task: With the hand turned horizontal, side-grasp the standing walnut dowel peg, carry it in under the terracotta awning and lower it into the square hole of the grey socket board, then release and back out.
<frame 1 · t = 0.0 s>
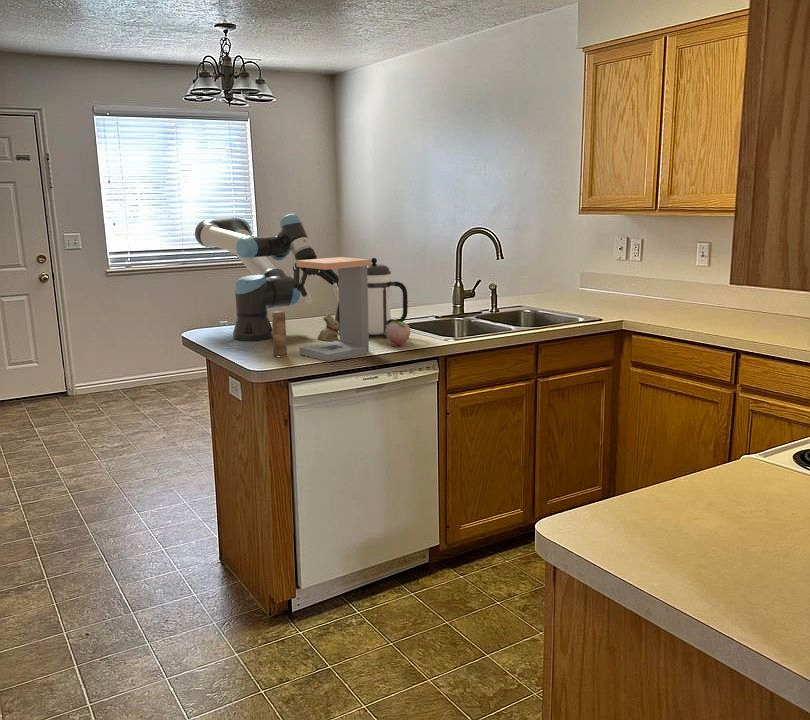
hand: (325, 301, 271), 15 cm above the worktop, tool tilted 35°, fingers open, 13 cm apart
pump dispenser: (347, 333, 295), on the worktop
chocolate bunny: (328, 339, 281), on the worktop
socket: (332, 354, 254), on the worktop
coffee press: (378, 336, 288), on the worktop
decorative fruit: (398, 346, 268), on the worktop
peg: (280, 355, 253), on the worktop
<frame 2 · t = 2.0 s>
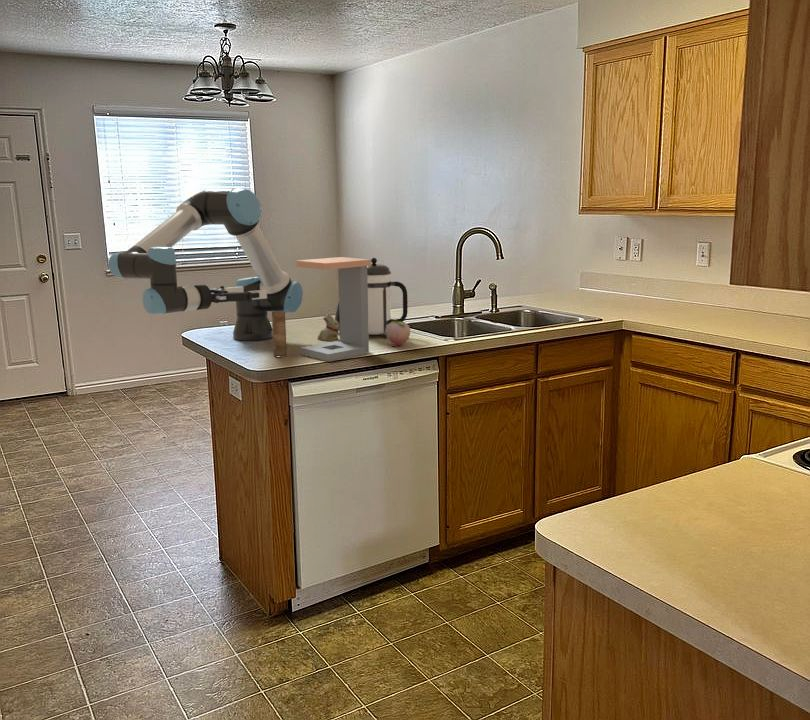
hand: (254, 292, 242), 23 cm above the worktop, tool horizontal, fingers open, 13 cm apart
nothing on the worktop moved.
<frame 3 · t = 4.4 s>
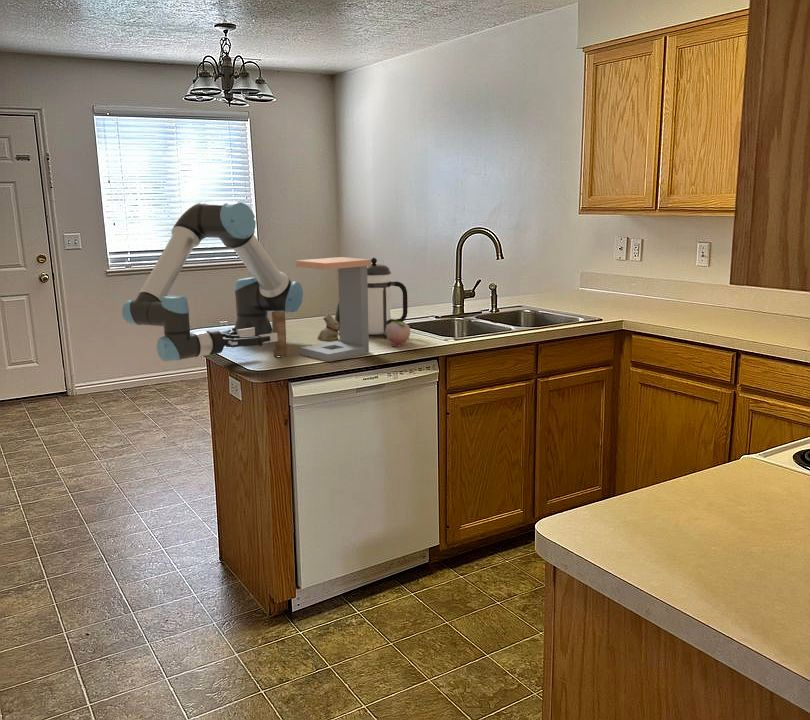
hand: (265, 334, 247), 8 cm above the worktop, tool horizontal, fingers open, 13 cm apart
nothing on the worktop moved.
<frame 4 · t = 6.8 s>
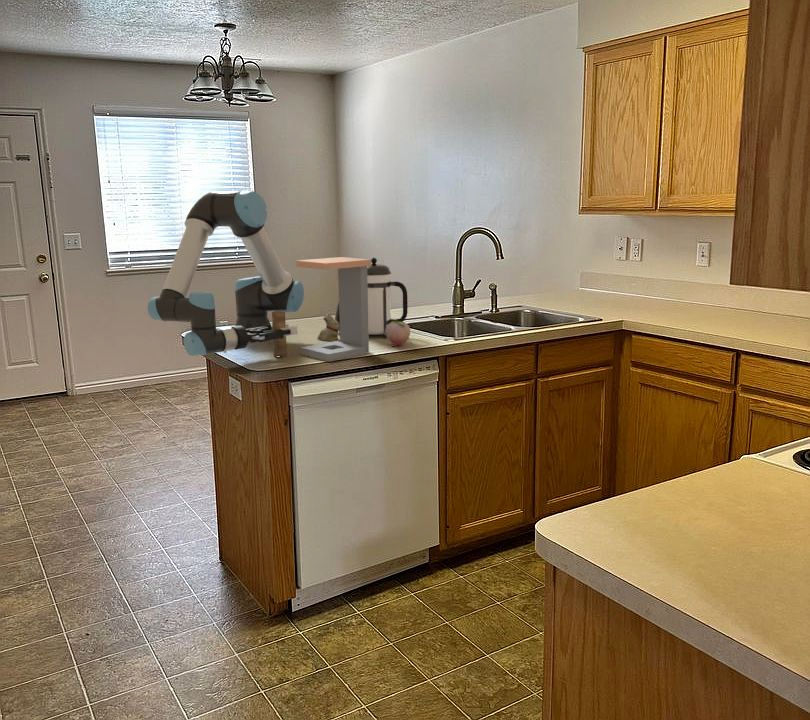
hand: (292, 329, 254), 9 cm above the worktop, tool horizontal, fingers closed on peg, 4 cm apart
peg: (280, 355, 253), on the worktop, touching gripper
everything else where it was.
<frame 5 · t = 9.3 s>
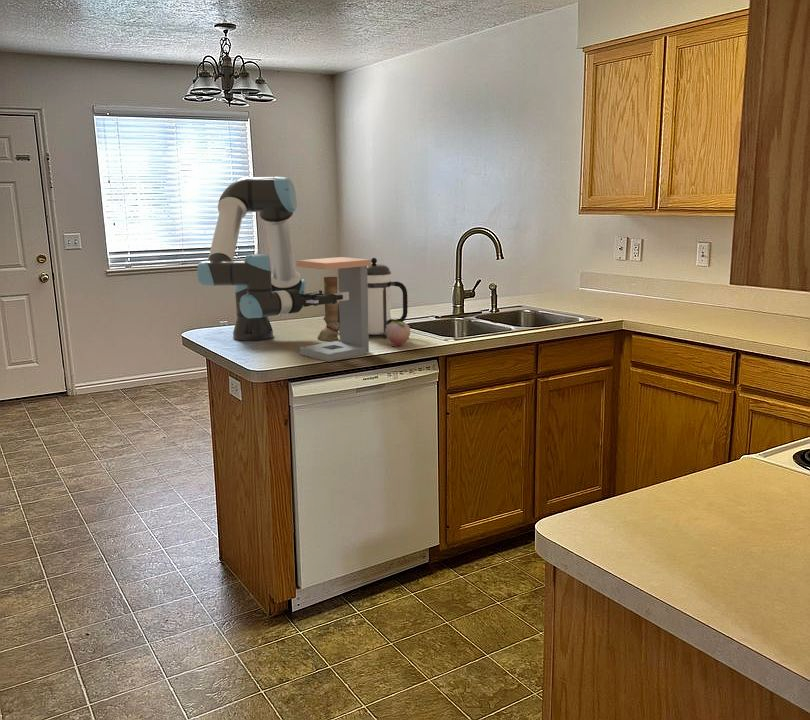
hand: (343, 295, 253), 20 cm above the worktop, tool horizontal, fingers closed on peg, 4 cm apart
peg: (331, 321, 252), point 11 cm above the worktop, touching gripper
everything else where it was.
when the fingers open (9 cm above the worktop, at t = 11.9 s): peg stays where it is, resting in socket.
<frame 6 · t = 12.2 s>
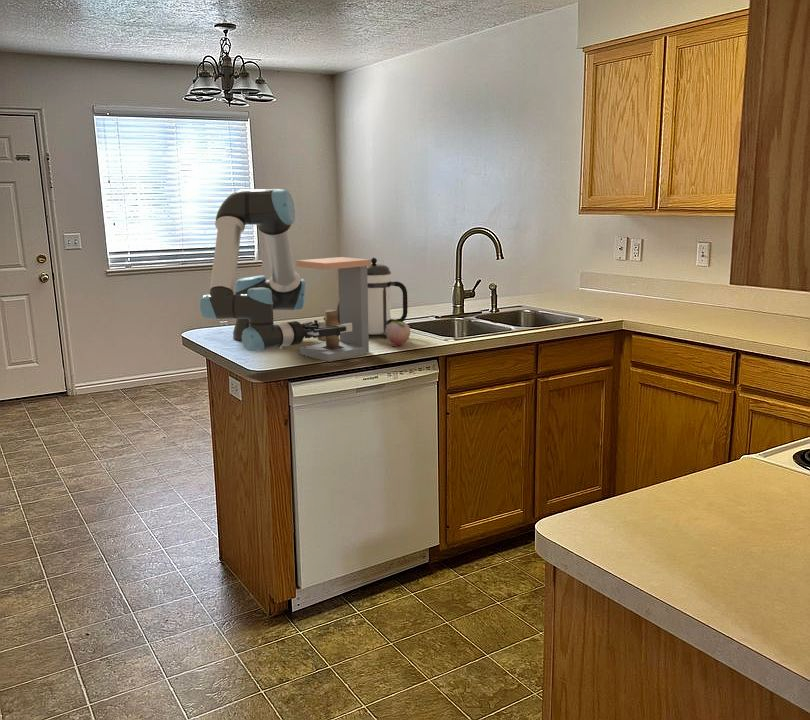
hand: (342, 325, 255), 10 cm above the worktop, tool horizontal, fingers open, 9 cm apart
peg: (332, 354, 254), resting in socket
everything else where it was.
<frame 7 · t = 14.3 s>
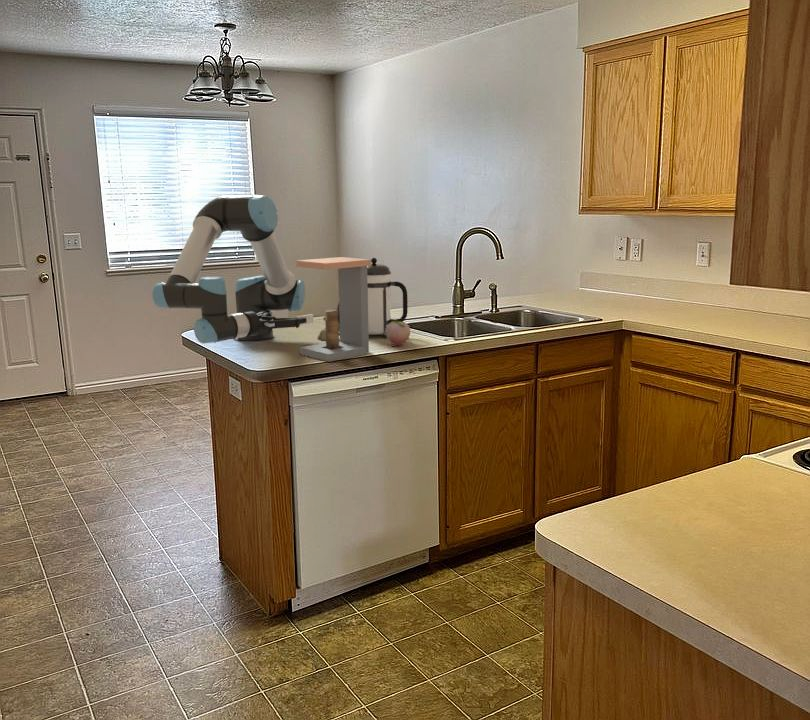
hand: (300, 315, 244), 15 cm above the worktop, tool horizontal, fingers open, 13 cm apart
nothing on the worktop moved.
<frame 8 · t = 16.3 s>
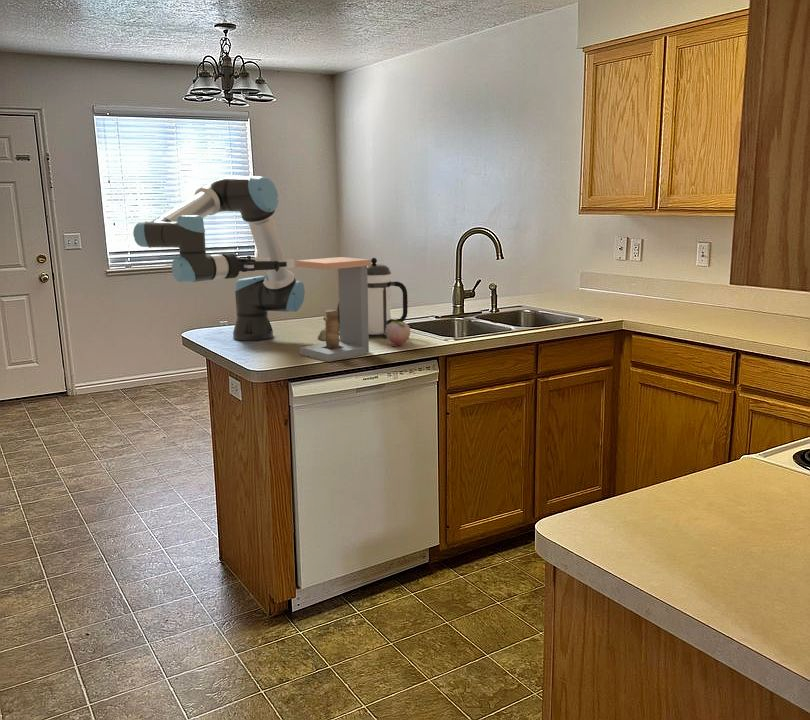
hand: (281, 262, 242), 32 cm above the worktop, tool horizontal, fingers open, 13 cm apart
nothing on the worktop moved.
at the end: peg 0.1 cm off-centre on the socket, point 0.0 cm above the socket's base; peg tilted 0°; the gripper is holding nothing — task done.
